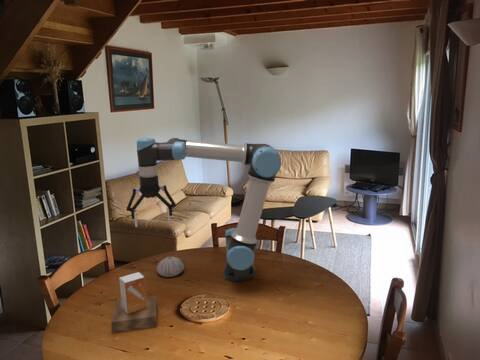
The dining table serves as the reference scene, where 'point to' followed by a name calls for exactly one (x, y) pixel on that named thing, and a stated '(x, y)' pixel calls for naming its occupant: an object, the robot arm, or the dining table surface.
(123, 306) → the small box
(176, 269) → the sea urchin shell
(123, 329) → the walnut block
